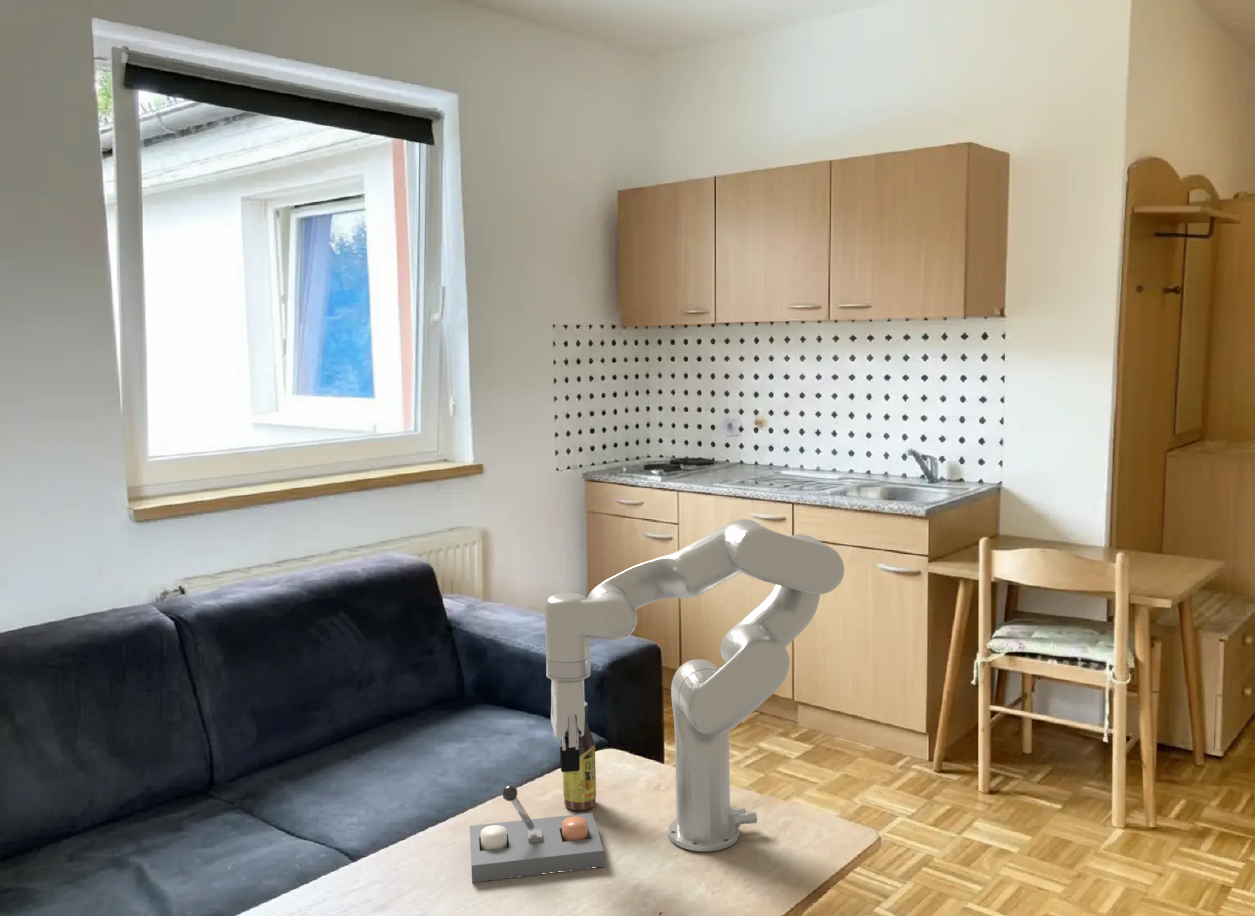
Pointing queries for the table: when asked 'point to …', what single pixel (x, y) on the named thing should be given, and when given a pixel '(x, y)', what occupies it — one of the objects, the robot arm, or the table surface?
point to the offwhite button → (493, 837)
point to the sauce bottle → (582, 774)
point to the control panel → (535, 850)
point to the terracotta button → (574, 829)
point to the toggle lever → (517, 805)
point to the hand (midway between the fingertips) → (569, 769)
